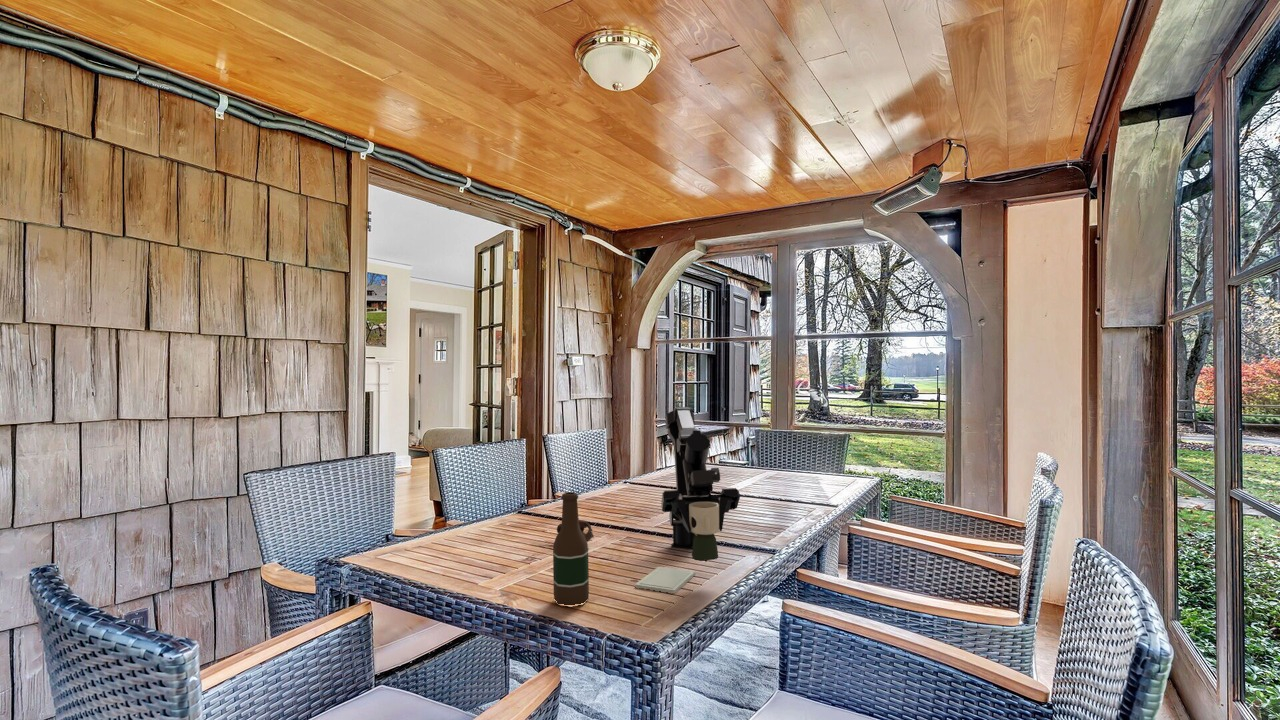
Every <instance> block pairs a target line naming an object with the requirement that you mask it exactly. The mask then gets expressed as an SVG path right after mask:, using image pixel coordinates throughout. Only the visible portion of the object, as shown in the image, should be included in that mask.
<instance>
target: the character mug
mask: <svg viewBox="0 0 1280 720" xmlns="http://www.w3.org/2000/svg"><path fill="white" fill-rule="evenodd" d="M689 522H690V528H691V532H693V533H695V535H694V538H693V546H692V548H691V557H692V560H693V561H698V562H703V561H704V562H706V563H707V562H708V561H713V560H718V558H719V551H718V543H717V538H716V536H715V534H717V533H719V532H720V530H719V504H718V503H713V502H694V503H691V504H689Z"/></svg>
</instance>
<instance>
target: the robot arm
mask: <svg viewBox="0 0 1280 720" xmlns="http://www.w3.org/2000/svg"><path fill="white" fill-rule="evenodd" d="M665 430H667V436H668V437H669V438H670V440H671V441H672V443H673V449H674V450H673V451H674V452H673V453H674V469H675V470H674V471H675V483H676V484H675V485H676V487H675V488H676V489H673V490H669V489H667V490H664V491H663V492H662V494H661V505H660V506H661V512H663V513H669V515H668V516H669V523H670V526H671V527H672V543H671V544H670V546H671V547H676V548H683V549H692V546H693V538H694V535H695V533H693V532H691V528H690V522H689V504H691V503H694V502H713V503H717V504H719V532H722V531H723V527H724V519H725V513H729V512H730V510H736V509H738V506H739V502H740V498H741V495H740V491H739V490H738V489H737V488H736V487H734V488H733V487H729V488H728V487H727V488H725V487H724V488H721V491H720V492H721V493H720V494H712V492H713V489H714V487H713V485H714V483H719V482H720V481H721V474H720V473H721V471H720V469H719V467H711V469H708V470H707V465H706V462H708V456H709V451H710V449H711V440H710V438H709V437H707V435H705V434H703V432H702V431H701V429H700V430H699V429H696V426H695V413H694V412H693V411H692V408H691V407H688V406H683V407H681V406H679V407H674V408H673V410H671V411H669V412H668V413H666V415H665Z"/></svg>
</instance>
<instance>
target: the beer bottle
mask: <svg viewBox="0 0 1280 720" xmlns="http://www.w3.org/2000/svg"><path fill="white" fill-rule="evenodd" d="M579 498H580V497H579V495H578V493H577V492H574V491H567V492H564V493H562V494H561V499H562V509H561V510H562V511H561V513H562V514H561V523H560V524H561V530H560V532H559V533H558V532H557V535H556V537H555V540H554V542H553V548H552V549H553V551H552V556H553V557H552V559H553V560H552V562H553V563H552V564H553V600H554V599H555V600H556V601H557V603H558V604H564V605H575V604H581V603H584V602H585V601H586V600H587V599H588V600H589V594H590V593H589V592H590V589H589V588H590V585H589V583H590V581H589V578H590V577H589V545H588V541H587V540H586V538H585V535H584V534H583V533H582V531H581V530H580V526H579V520H580V519H579V507H578V506H579V505H578V499H579Z"/></svg>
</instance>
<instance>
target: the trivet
mask: <svg viewBox="0 0 1280 720" xmlns="http://www.w3.org/2000/svg"><path fill="white" fill-rule="evenodd" d="M695 575H696V571H695V570H689V569H688V570H687V569H682V568H679V569H678V568H673V567H665V566H657V567H656V568H654V569H653V570H652V571H651V572H649V573H648V574H647V575H646V576H644V577H643V578H642V579H639V581H638V582H636V583H635V584H634V588H635V587H636V588H635V589H639V588H644V589H643V590H646V589H650V590H649V591H653V590H655V591H654V592H659V591H661V593H666V592H668V594H672V593H675V594H676V593H677V592H678V591H679V590H681V588H683V586H686V584H687V583H688V582H689V581H690V580H691V579H692V578H694V577H695Z"/></svg>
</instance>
